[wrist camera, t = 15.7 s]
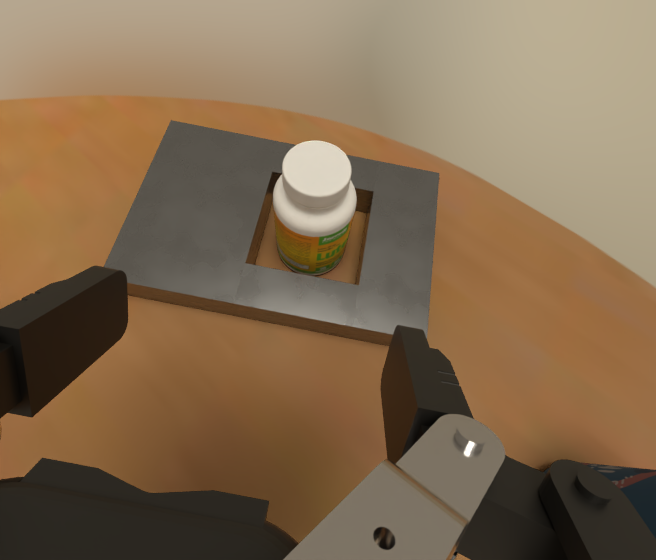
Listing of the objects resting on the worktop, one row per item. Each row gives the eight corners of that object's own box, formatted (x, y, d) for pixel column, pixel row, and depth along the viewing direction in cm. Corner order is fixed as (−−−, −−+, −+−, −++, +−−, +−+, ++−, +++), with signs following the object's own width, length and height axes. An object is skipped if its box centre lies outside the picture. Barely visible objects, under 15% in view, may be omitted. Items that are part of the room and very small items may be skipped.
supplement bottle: (318, 290, 29) (328, 225, 20) (263, 252, 30) (249, 172, 21) (357, 241, 31) (382, 161, 22) (304, 206, 32) (307, 116, 23)
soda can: (607, 462, 26) (842, 483, 15) (635, 588, 23) (949, 729, 12) (509, 458, 25) (674, 475, 14) (525, 585, 23) (745, 729, 12)
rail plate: (118, 293, 27) (99, 277, 25) (181, 146, 33) (171, 120, 30) (413, 350, 28) (426, 341, 25) (427, 195, 33) (439, 173, 30)
